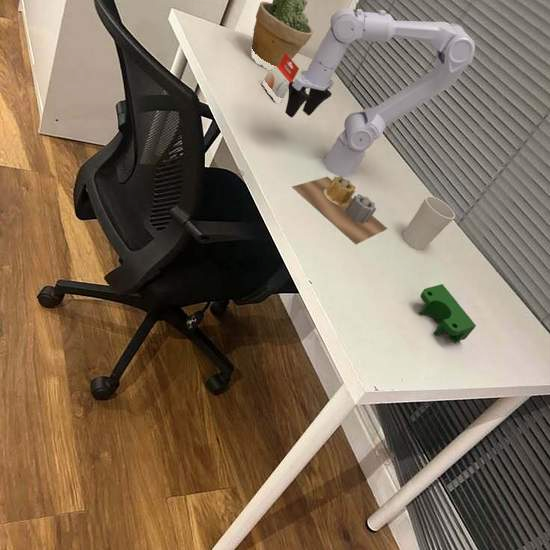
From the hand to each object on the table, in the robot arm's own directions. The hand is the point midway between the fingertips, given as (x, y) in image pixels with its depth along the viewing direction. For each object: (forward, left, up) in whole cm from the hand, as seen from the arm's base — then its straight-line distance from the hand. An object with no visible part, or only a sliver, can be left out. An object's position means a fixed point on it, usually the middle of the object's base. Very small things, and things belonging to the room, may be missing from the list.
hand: (297, 114), depth 134 cm
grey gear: (+2, +27, -9) cm, 29 cm away
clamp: (+13, +57, -10) cm, 60 cm away
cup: (-7, +40, -10) cm, 42 cm away
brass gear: (+2, +21, -9) cm, 23 cm away
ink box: (-22, -22, -10) cm, 33 cm away
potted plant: (-39, -39, -10) cm, 56 cm away
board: (+5, +24, -10) cm, 26 cm away
